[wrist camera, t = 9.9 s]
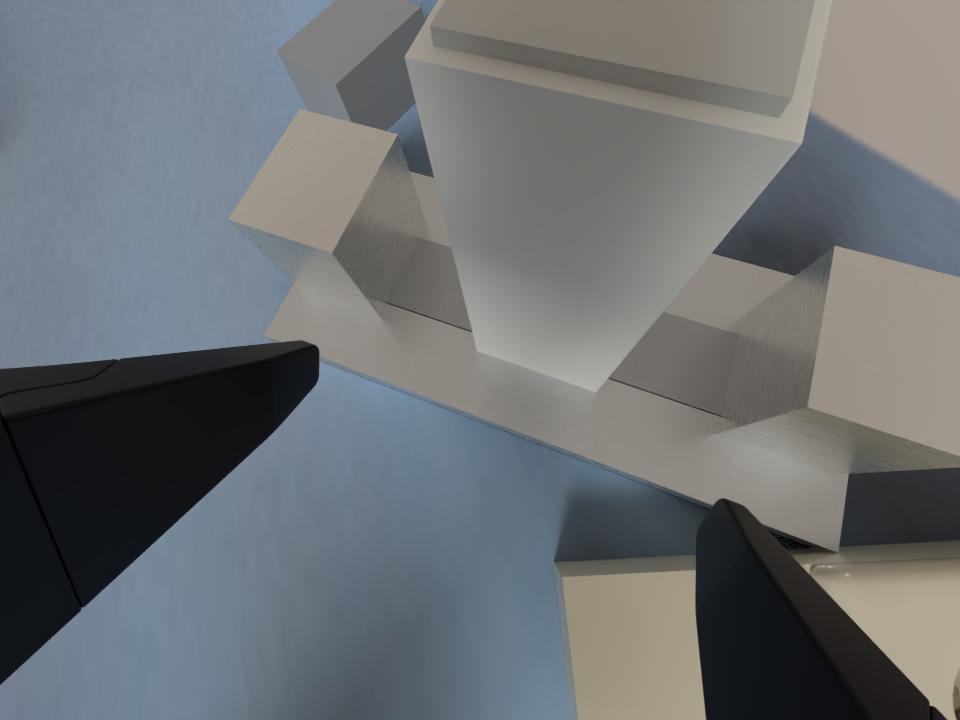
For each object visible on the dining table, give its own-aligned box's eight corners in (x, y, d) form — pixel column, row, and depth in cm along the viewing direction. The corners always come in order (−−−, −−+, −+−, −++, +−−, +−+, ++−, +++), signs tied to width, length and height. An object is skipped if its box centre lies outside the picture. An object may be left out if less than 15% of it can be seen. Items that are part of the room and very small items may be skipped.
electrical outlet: (566, 583, 12) (1252, 547, 11) (552, 561, 16) (1058, 533, 15) (604, 928, 10) (1474, 921, 9) (578, 802, 13) (1176, 789, 12)
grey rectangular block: (365, 154, 22) (335, 84, 19) (315, 122, 23) (276, 50, 20) (435, 85, 24) (421, 6, 20) (385, 57, 25) (361, -22, 21)
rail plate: (813, 548, 15) (1010, 583, 9) (278, 345, 19) (174, 278, 13) (849, 309, 18) (1019, 216, 12) (372, 176, 22) (319, 58, 16)
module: (596, 392, 16) (818, 124, 4) (477, 350, 17) (398, 37, 5) (631, 280, 17) (873, -151, 6) (519, 247, 18) (532, -183, 7)
